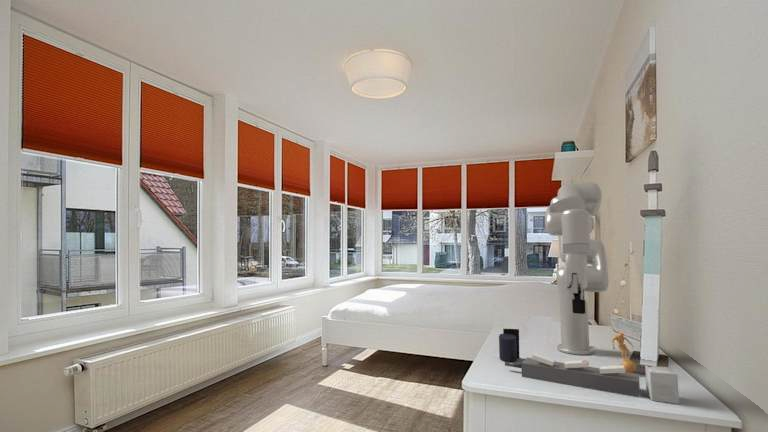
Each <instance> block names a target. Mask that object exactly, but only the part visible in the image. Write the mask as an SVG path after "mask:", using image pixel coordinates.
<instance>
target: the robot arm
mask: <svg viewBox="0 0 768 432" xmlns="http://www.w3.org/2000/svg"><path fill="white" fill-rule="evenodd" d="M602 197H603V196H602V190H601V187H600V186H599V185H598V184H597V183H595V182H578V183H576V182H575V183H572V182H571V183H567V184H564V185H562V186H561V187H560V188H559V189H558V190H557V196H555V197H553V198H552V199H551V200H550V205H549V206H547V208H546V210H545V215H544V227H545V231H546V233H547V234H549V235H550V236H553V237H554V236H555V237H556V236H558V247H559V248H558V251H559V258H560V261H561V262H563V263H564V266H560V267H559V268H558V269H557V271H556V274H555V276H556V281H557V289H558V296H559V315H560V316H559V317H560V338H561V340H560V342H561V343H560V344H557V345H556V348H557V351H559V352H562V353H566V354H571V355H578V356H579V355H580V356H582V355H583V356H584V355H585V356H586V355H593V354H595V348H593V347H592V346H590V332H589V331H590V330H589V308H588V307H589V305H588V302H587V300H586V299H585V293H587V292H588V293H604V292H605V291H607V289H608V288H609V272H608V263H607V255H606V254H607V252H606V248H605V244H604V243H603V242H602V241H601V240H599V239H595V238H594V239H591V235H590V234H592V232H593V230H595V220H594V217H593V216H595V215H598V213H599V211H600V206H601V204H602Z"/></svg>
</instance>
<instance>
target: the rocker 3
mask: <svg viewBox="0 0 768 432" xmlns="http://www.w3.org/2000/svg"><path fill="white" fill-rule="evenodd" d="M599 368H600V369H599V370H600V374H605V373H625V371H626V369H625V366H624V365H621V364H620V365H603V366H599Z"/></svg>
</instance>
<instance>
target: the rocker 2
mask: <svg viewBox="0 0 768 432" xmlns="http://www.w3.org/2000/svg"><path fill="white" fill-rule="evenodd" d="M563 363H564V366H565V368H580V367H589V365H590V362H589V359H587V360H586V359H584V360H568V361H567V360H566V361H564V362H563Z"/></svg>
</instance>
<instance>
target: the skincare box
mask: <svg viewBox="0 0 768 432" xmlns="http://www.w3.org/2000/svg"><path fill="white" fill-rule="evenodd" d="M644 368H645V371H644V372H645V384H646V387H645V389H646V395H647V396H648V397H649V399H650V400H651V401H654V402H661V403H669V404H670V403H671V404H680V397H679V396H680V395H679V392H680V391H679V381H678V380H679V379H678V378H679V377H678V374H677V373H676V372H675V371H674V370H673V368H671V367H667V366H654V365H644Z"/></svg>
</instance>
